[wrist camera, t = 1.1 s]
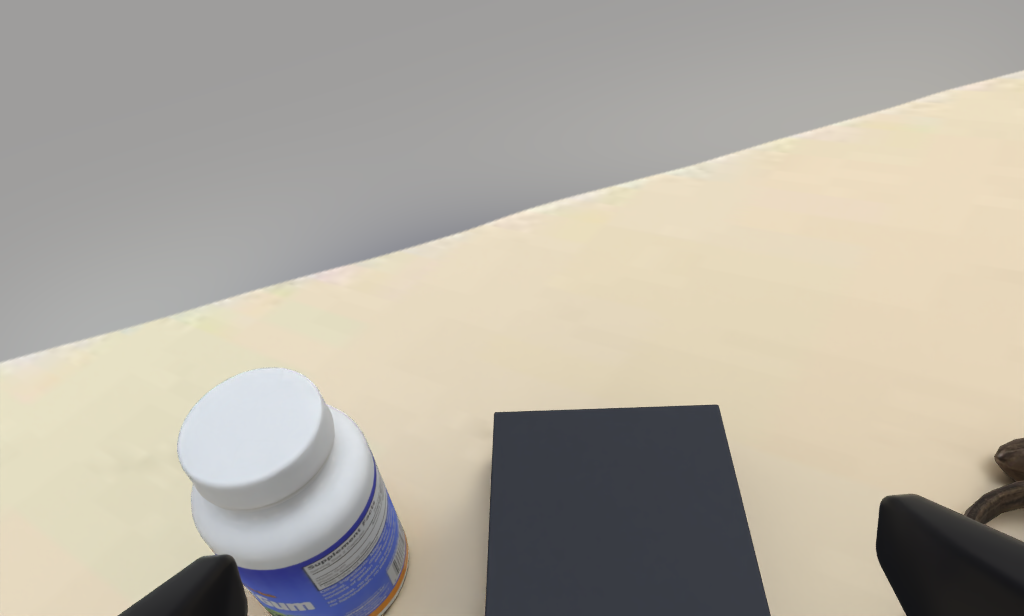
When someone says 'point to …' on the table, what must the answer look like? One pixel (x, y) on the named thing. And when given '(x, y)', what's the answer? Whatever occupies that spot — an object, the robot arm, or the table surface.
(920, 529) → the robot arm
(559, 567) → the blackboard eraser
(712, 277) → the table surface
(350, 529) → the pill bottle
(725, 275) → the table surface
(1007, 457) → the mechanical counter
